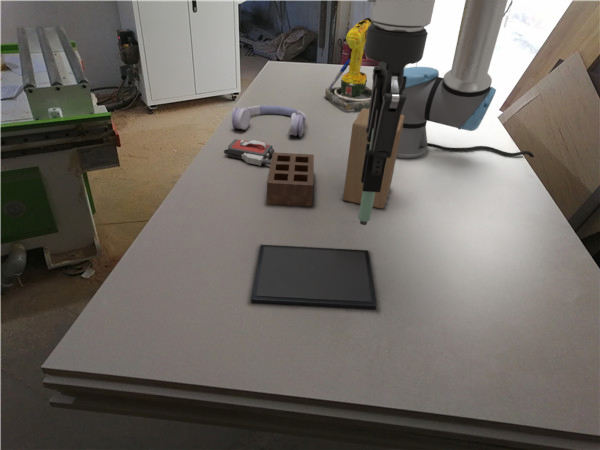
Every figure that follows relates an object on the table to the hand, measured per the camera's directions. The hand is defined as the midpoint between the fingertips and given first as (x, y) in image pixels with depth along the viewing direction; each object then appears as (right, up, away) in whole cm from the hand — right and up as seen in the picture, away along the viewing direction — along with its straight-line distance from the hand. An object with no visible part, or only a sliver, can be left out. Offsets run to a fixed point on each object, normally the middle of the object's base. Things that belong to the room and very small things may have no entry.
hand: (370, 185), depth 65 cm
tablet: (-9, -16, +12) cm, 22 cm away
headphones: (-20, +27, +68) cm, 76 cm away
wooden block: (+5, +1, +36) cm, 37 cm away
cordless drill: (+10, +41, +89) cm, 98 cm away
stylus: (0, -6, +4) cm, 7 cm away
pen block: (-14, +3, +37) cm, 40 cm away
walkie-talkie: (-23, +12, +49) cm, 56 cm away
